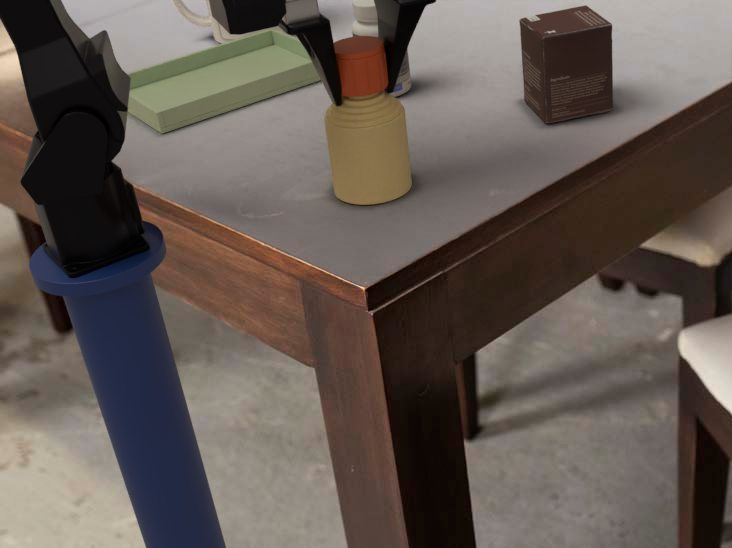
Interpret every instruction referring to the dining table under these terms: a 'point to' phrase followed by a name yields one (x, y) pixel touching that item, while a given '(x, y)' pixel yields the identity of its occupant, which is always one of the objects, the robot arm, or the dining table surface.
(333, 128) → the bottle
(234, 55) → the tray
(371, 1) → the pill bottle
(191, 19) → the mug
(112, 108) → the robot arm
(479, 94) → the dining table surface
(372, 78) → the cap
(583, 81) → the box
